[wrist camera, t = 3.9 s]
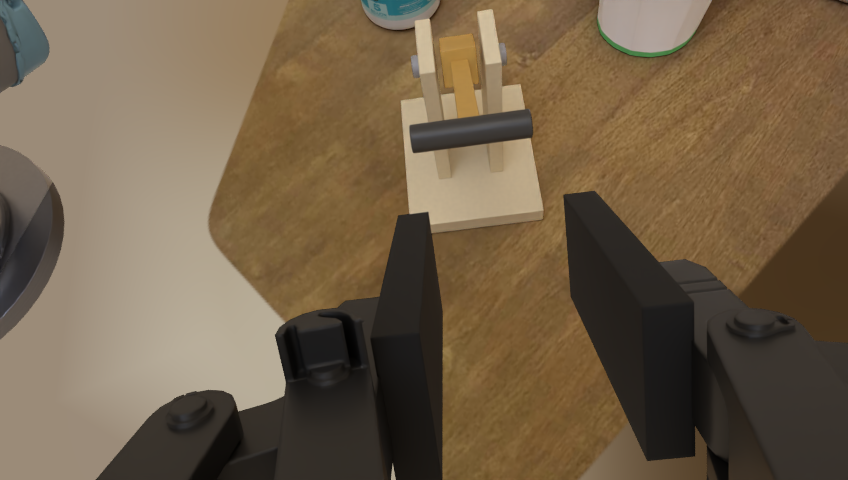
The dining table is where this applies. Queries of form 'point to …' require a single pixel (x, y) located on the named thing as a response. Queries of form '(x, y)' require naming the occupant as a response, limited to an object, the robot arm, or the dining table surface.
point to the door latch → (469, 147)
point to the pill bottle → (399, 12)
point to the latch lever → (467, 107)
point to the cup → (649, 24)
